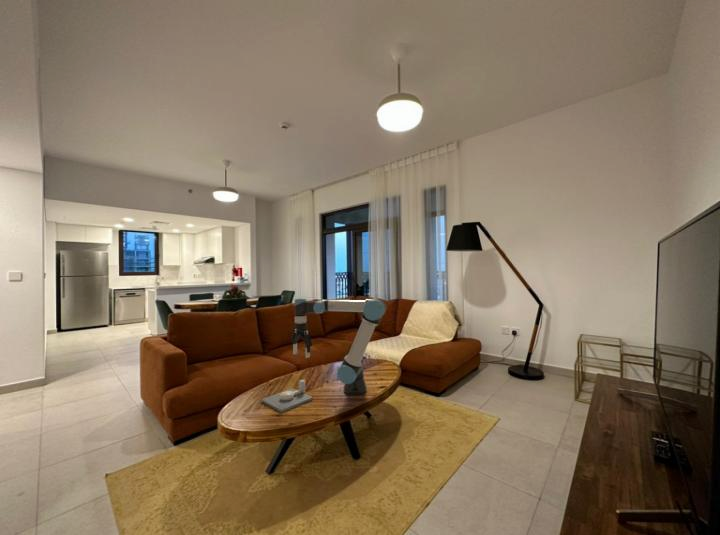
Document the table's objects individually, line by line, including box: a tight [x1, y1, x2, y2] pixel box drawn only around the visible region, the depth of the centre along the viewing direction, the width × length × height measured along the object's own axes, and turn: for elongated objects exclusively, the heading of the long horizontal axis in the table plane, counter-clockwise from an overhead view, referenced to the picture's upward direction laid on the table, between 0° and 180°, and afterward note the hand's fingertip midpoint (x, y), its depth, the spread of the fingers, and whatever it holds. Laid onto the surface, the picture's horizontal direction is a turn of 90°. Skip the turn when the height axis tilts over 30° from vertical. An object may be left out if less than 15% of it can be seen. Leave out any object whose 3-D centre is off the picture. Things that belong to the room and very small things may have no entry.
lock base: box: [261, 388, 314, 414], centre depth 174 cm, size 22×22×2 cm
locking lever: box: [280, 379, 306, 401], centre depth 177 cm, size 17×8×7 cm, turn 137°
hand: (301, 355), depth 183 cm, fingers open, 13 cm apart
